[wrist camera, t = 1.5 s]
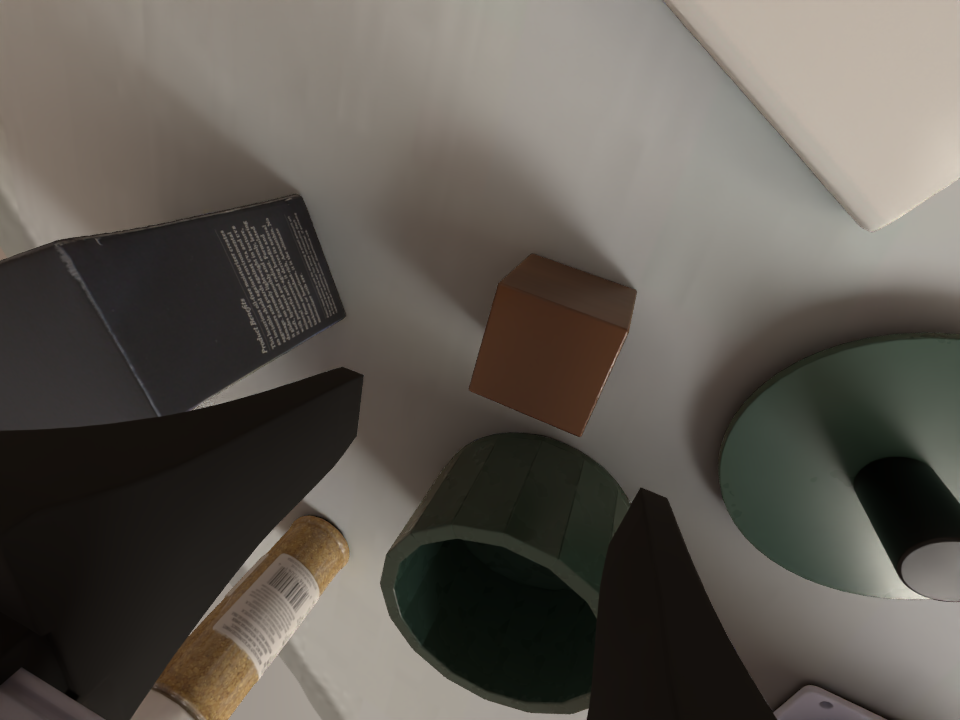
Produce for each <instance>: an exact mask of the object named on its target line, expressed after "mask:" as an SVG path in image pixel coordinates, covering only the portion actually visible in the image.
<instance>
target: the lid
mask: <svg viewBox="0 0 960 720" xmlns="http://www.w3.org/2000/svg"><path fill="white" fill-rule="evenodd" d="M718 476H719V483H720V488H721V493H722V498H723V500H724V503H725V506H726V508H727V511H728V513H729V514H730V516H731V518H732V520H733V522H734V523H735V525H736V526H737V527H738V529H739V530H740V531H741V533H742V534H743V535H744V536H745V538H746V539H747V540H748V541H749V542H751V543H752V544H753V545H754V546H755V547H756V548H757V549H758V550H759V551H760V552H762V553H763V554H764V555H765V556H767V557H768V558H769V559H770V560H772V561H774V562H775V563H777V564H778V565H780V566H782V567H783V568H785V569H786V570H788V571H790V572H793V573H795V574H797V575H799V576H801V577H803V578H805V579H807V580H810V581H813V582H815V583H818V584H820V585H823V586H827V587H830V588H833V589H837V590H840V591H844V592H849V593H854V594H859V595H863V596H871V597H879V598H887V599H906V600H921V599H934V600H939V601H946V602H960V335H959V334H948V333H928V332H924V333H902V334H891V335H884V336H877V337H870V338H865V339H861V340H857V341H853V342H849V343H845V344H841V345H838V346H835V347H832V348H829V349H826V350H824V351H821V352H818V353H816V354H813V355H811V356H809V357H807V358H805V359H803V360H800V361H798V362H796V363H794V364H793V365H791V366H789V367H788V368H786V369H784V370H783V371H781V372H779V373H778V374H776V375H775V376H774V377H772V378H771V379H770V380H768V381H767V382H766V383H764V384H763V385H762V386H761V387H759V388H758V389H757V390H756V391H755V392H754V393H753V394H752V395H751V396H750V397H749V398H748V399H747V400H746V401H745V403H744V404H743V405H742V406H741V408H740V409H739V410H738V412H737V413H736V414H735V416H734V417H733V419H732V421H731V423H730V425H729V427H728V428H727V430H726V433H725V436H724V438H723V441H722V444H721V448H720V454H719V460H718Z"/></svg>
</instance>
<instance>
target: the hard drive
mask: <svg viewBox="0 0 960 720" xmlns="http://www.w3.org/2000/svg"><path fill="white" fill-rule="evenodd" d="M663 1H664V2H665V3H666V5H667V6H668V7H669V8H670V9H671V10H672V12H673V13H674V14H675V15H676V16H677V17H678V18H679V20H680V21H681V22H682V23H683V24H684V25H685V27H686V28H687V29H688V30H689V31H690V32H691V33H692V35H693V36H694V37H695V38H696V39H697V40H698V41H699V42H700V44H701V45H702V46H703V47H704V48H705V49H706V50H707V52H708V53H709V54H710V55H711V56H712V57H713V59H714V60H715V61H716V62H717V63H718V64H719V65H720V67H721V68H722V69H723V70H724V72H725V73H726V74H727V75H728V76H729V77H730V78H731V79H732V80H733V81H734V83H735V84H736V85H737V86H738V87H739V88H740V89H741V91H742V92H743V93H744V94H745V95H746V96H747V97H748V99H749V100H750V101H751V102H752V103H753V104H754V105H755V107H756V108H757V109H758V110H759V111H760V112H761V114H762V115H763V116H764V117H765V118H766V119H767V120H768V122H769V123H770V124H771V125H772V126H773V127H774V128H775V129H776V130H777V132H778V133H779V134H780V135H781V136H782V137H783V138H784V139H785V140H786V142H787V143H788V144H789V145H790V146H791V148H792V149H793V150H794V151H795V152H796V153H797V154H798V156H799V157H800V158H801V159H802V160H803V162H804V163H805V164H806V165H807V166H808V167H809V168H810V170H811V171H812V172H813V173H814V174H815V175H816V177H817V178H818V179H819V180H820V182H821V183H822V184H823V185H824V186H825V187H826V189H827V190H828V191H829V192H830V193H831V194H832V195H833V196H834V197H835V199H836V200H837V201H838V202H839V203H840V204H841V206H842V207H843V208H844V209H845V210H846V211H847V213H848V214H849V215H850V216H851V217H852V218H853V219H854V220H855V221H856V223H857V224H858V225H859V226H860V227H862V228H863V229H865V230H867V231H869V232H875V231H877V230H879V229H881V228H883V227H885V226H886V225H888V224H890V223H892V222H893V221H895V220H896V219H898V218H900V217H901V216H903V215H904V214H906V213H907V212H909V211H910V210H912V209H913V208H915V207H916V206H918V205H919V204H921V203H922V202H924V201H926V200H927V199H929V198H930V197H932V196H933V195H935V194H936V193H938V192H939V191H941V190H942V189H944V188H945V187H947V186H949V185H950V184H952V183H953V182H955V181H956V180H958V179H959V178H960V0H663Z"/></svg>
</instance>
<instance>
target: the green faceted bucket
mask: <svg viewBox="0 0 960 720" xmlns="http://www.w3.org/2000/svg"><path fill="white" fill-rule="evenodd" d="M630 506H631V505H630V503H629V501H628V499H627V497H626V495H625V494H624V492H623V490H622V489H621V487H620V486H619V485H618V484H617V482H616V481H615V480H614V478H613V477H612V476H611V475H610V474H609V473H608V472H607V471H606V470H605V469H604V468H603V467H602V466H600V465H599V464H598V463H596V462H595V461H594V460H593V459H591V458H590V457H588V456H587V455H585V454H584V453H582V452H580V451H579V450H577V449H575V448H573V447H571V446H569V445H567V444H565V443H562V442H559V441H556V440H554V439H551V438H547V437H543V436H539V435H533V434H526V433H503V434H495V435H491V436H487V437H484V438H481V439H478V440H476V441H474V442H472V443H470V444H468V445H467V446H465V447H464V448H463V449H461V450H460V451H459V452H458V453H457V454H456V455H455V456H454V457H453V458H452V460H451V461H450V463H449V464H447V465H446V466H445V467H444V469H443V470H442V472H441V473H440V475H439V476H438V478H437V479H436V481H435V482H434V484H433V485H432V487H431V488H430V490H429V491H428V493H427V494H426V496H425V497H424V498H423V500H422V501H421V503H420V504H419V506H418V507H417V509H416V510H415V512H414V513H413V515H412V516H411V518H410V519H409V521H408V522H407V524H406V525H405V527H404V528H403V530H402V531H401V533H400V534H399V536H398V537H397V539H396V540H395V542H394V543H393V545H392V546H391V548H390V549H389V551H388V553H387V554H386V558H385V563H384V567H383V572H382V576H381V581H380V584H381V589H382V592H383V596H384V599H385V603H386V606H387V610H388V613H389V616H390V618H391V619H392V621H393V622H394V624H395V625H396V626H397V628H398V629H399V631H400V632H401V634H402V635H403V636H404V638H405V639H406V641H407V642H408V643H409V645H410V646H411V648H413V650H414V651H415V652H416V653H418V654H419V655H420V656H421V657H422V658H423V659H425V660H426V661H427V662H428V663H429V664H430V665H432V666H433V667H434V668H435V669H436V670H437V671H439V672H440V673H441V674H442V675H443V676H444V677H446V678H447V679H449V680H451V681H452V682H454V683H456V684H458V685H460V686H461V687H463V688H465V689H467V690H469V691H471V692H472V693H474V694H476V695H478V696H480V697H481V698H483V699H486V700H488V701H492V702H495V703H498V704H502V705H505V706H508V707H512V708H515V709H518V710H522V711H525V712H530V713H548V714H571V713H572V714H574V713H577V712H580V711H582V710H585V709H588V708H589V703H590V695H591V686H592V674H593V662H594V650H595V637H596V625H597V613H598V602H599V591H600V583H601V578H602V573H603V568H604V563H605V559H606V554H607V550H608V545H609V543H610V541H611V540H612V538H613V536H614V534H615V532H616V531H617V529H618V527H619V525H620V523H621V522H622V520H623V518H624V516H625V515H626V513H627V511H628V509H629V507H630Z"/></svg>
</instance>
